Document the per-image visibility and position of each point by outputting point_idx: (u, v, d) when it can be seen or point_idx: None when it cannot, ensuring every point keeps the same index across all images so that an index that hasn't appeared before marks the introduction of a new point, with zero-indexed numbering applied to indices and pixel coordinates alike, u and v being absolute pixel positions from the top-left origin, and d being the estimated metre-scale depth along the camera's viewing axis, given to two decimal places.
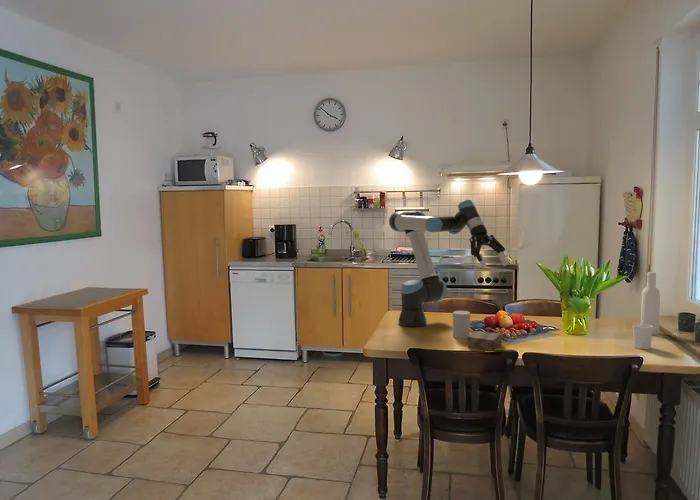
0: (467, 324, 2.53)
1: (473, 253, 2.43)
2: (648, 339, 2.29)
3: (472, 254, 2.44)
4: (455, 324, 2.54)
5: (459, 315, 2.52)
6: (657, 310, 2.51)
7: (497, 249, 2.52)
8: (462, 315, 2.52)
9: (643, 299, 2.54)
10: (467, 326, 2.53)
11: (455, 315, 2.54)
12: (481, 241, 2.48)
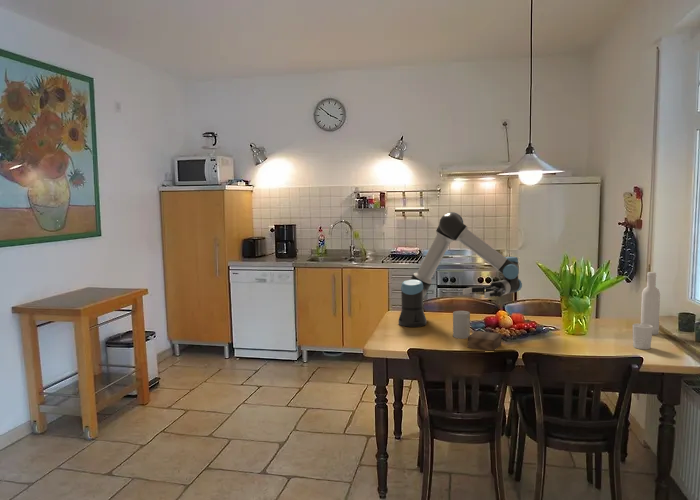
0: (467, 324, 2.53)
1: (499, 294, 2.57)
2: (648, 339, 2.29)
3: (499, 293, 2.57)
4: (455, 324, 2.54)
5: (459, 315, 2.52)
6: (657, 310, 2.51)
7: (474, 290, 2.70)
8: (462, 315, 2.52)
9: (643, 299, 2.54)
10: (467, 326, 2.53)
11: (455, 315, 2.54)
12: None
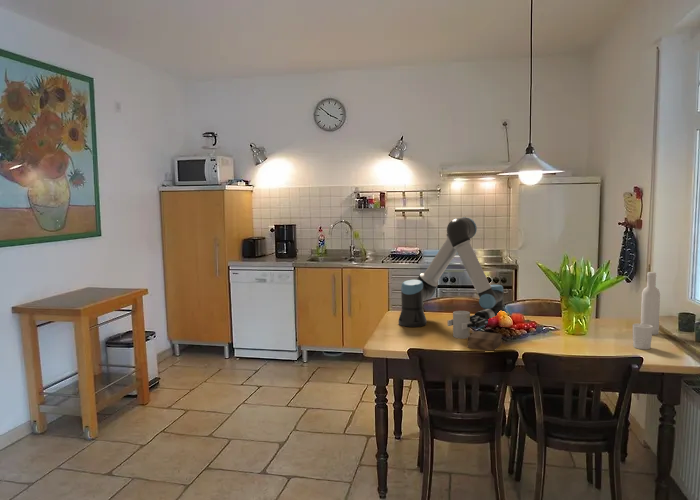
0: None
1: (477, 325, 2.52)
2: (648, 339, 2.29)
3: (477, 324, 2.52)
4: (455, 324, 2.54)
5: (459, 315, 2.52)
6: (657, 310, 2.51)
7: None
8: (462, 315, 2.52)
9: (643, 299, 2.54)
10: None
11: (455, 315, 2.54)
12: None
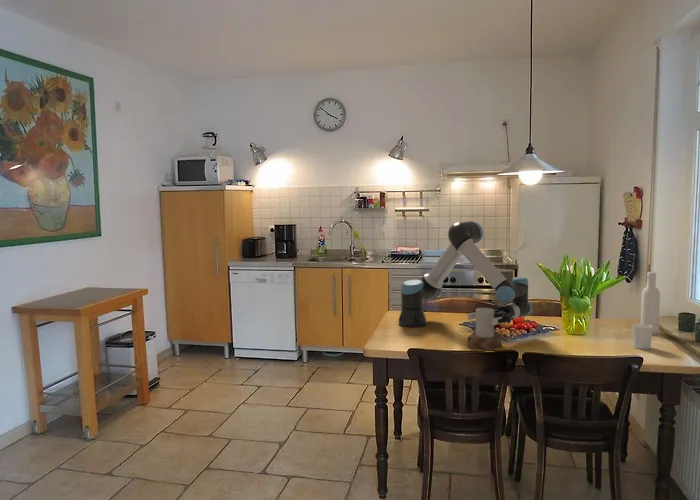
0: (491, 322, 2.35)
1: (508, 321, 2.33)
2: (648, 339, 2.29)
3: (508, 319, 2.33)
4: (478, 322, 2.36)
5: (483, 312, 2.35)
6: (657, 310, 2.51)
7: None
8: (486, 312, 2.34)
9: (643, 299, 2.54)
10: (491, 324, 2.35)
11: (478, 312, 2.36)
12: None
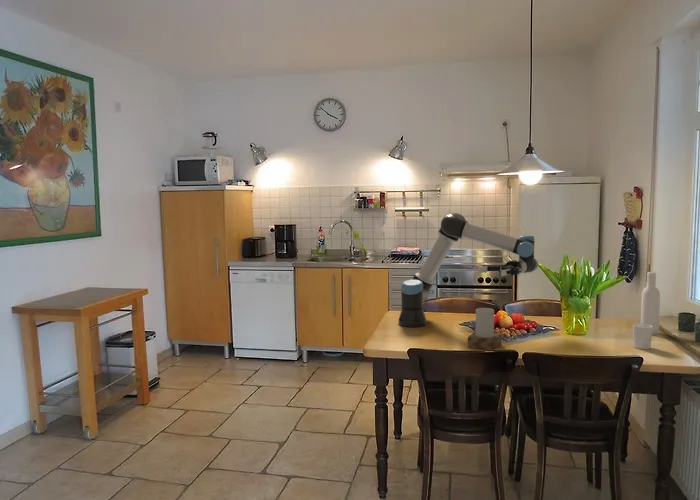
0: (491, 322, 2.35)
1: (516, 272, 2.50)
2: (648, 339, 2.29)
3: (516, 270, 2.50)
4: (478, 322, 2.36)
5: (483, 312, 2.34)
6: (657, 310, 2.51)
7: (490, 269, 2.63)
8: (486, 312, 2.34)
9: (643, 299, 2.54)
10: (491, 324, 2.35)
11: (478, 312, 2.36)
12: None
